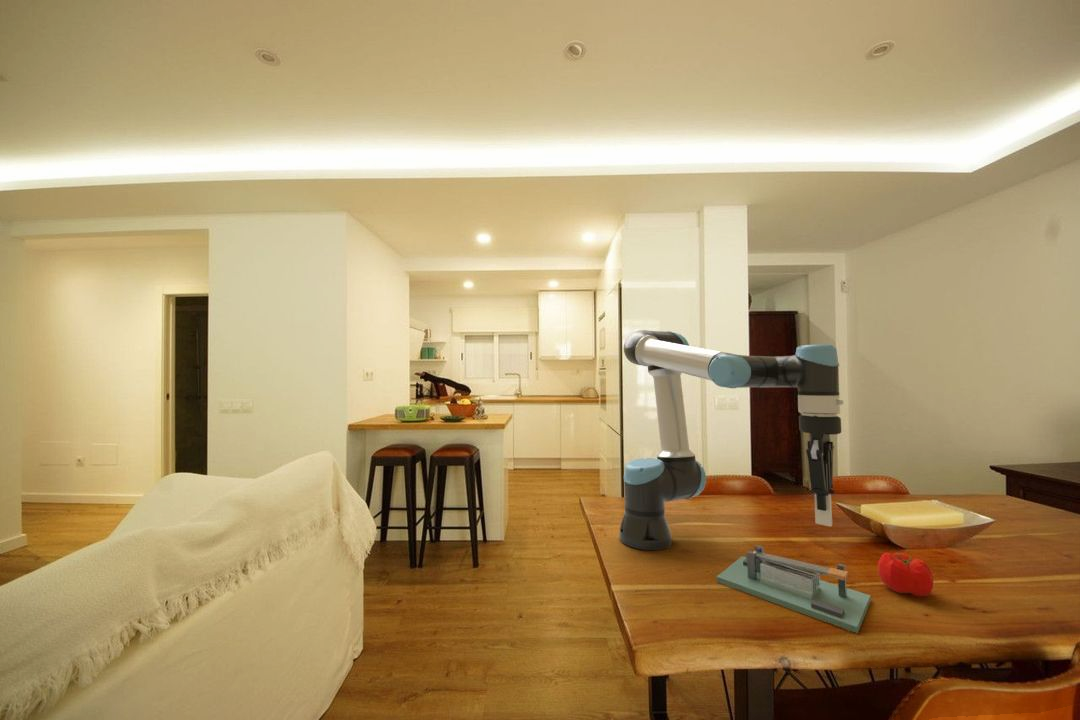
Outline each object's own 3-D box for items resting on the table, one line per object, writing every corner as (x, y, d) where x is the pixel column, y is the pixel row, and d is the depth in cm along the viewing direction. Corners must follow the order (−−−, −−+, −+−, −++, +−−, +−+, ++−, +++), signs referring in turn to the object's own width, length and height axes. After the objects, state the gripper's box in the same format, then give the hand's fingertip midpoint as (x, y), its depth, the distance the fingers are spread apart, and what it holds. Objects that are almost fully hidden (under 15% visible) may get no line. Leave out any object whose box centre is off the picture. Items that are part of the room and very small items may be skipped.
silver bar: (747, 578, 91) (746, 550, 91) (758, 567, 96) (757, 541, 96) (839, 609, 78) (838, 577, 78) (846, 595, 83) (845, 565, 83)
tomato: (869, 581, 92) (868, 548, 92) (908, 581, 91) (906, 548, 92) (905, 603, 82) (903, 567, 83) (948, 604, 82) (946, 567, 82)
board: (716, 581, 91) (716, 573, 91) (742, 560, 102) (742, 552, 102) (857, 633, 72) (857, 622, 72) (870, 601, 83) (870, 591, 83)
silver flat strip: (750, 558, 92) (749, 552, 92) (755, 554, 94) (754, 548, 94) (845, 582, 79) (844, 575, 79) (848, 577, 81) (847, 570, 81)
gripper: (833, 417, 78) (839, 537, 76) (846, 414, 87) (851, 521, 85) (790, 415, 83) (795, 527, 82) (806, 412, 92) (810, 513, 91)
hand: (823, 524), depth 84 cm, fingers closed
